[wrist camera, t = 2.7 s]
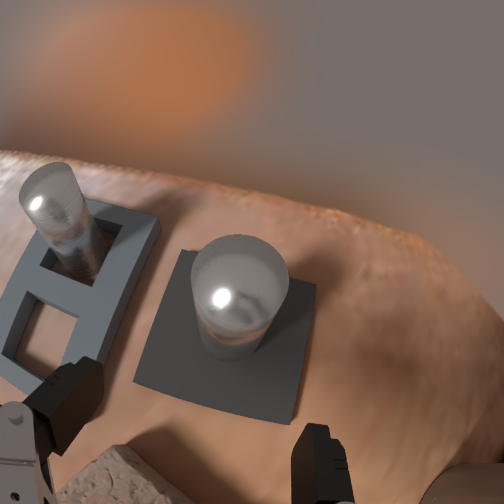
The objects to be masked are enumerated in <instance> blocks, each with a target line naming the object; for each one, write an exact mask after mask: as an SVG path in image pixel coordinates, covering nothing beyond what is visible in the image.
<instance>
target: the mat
mask: <svg viewBox="0 0 504 504" xmlns="http://www.w3.org/2000/svg"><path fill="white" fill-rule="evenodd" d="M197 255H198V253H194V252H191V251H187V250H183V249H182V250H181V253H180V255H179V257H178V260H177V262H176V265H175V267H174V270H173V272H172V275H171V277H170V280H169V282H168V285H167V287H166V290H165V293H164V295H163V298H162V300H161V303H160V306H159V308H158V311H157V314H156V316H155V319H154V322H153V324H152V327H151V330H150V333H149V336H148V338H147V341H146V344H145V347H144V350H143V353H142V356H141V358H140V361H139V364H138V367H137V370H136V373H135V376H134V379H133V382H134V383H137V384H139V385H142V386H145V387H147V388H150V389H153V390H156V391H159V392H161V393H164V394H167V395H170V396H173V397H176V398H179V399H183V400H186V401H189V402H192V403H196V404H199V405H202V406H206V407H210V408H213V409H217V410H221V411H224V412H228V413H232V414H237V415H241V416H245V417H249V418H254V419H259V420H264V421H269V422H274V423H279V424H285V425H290V423H291V419H292V414H293V410H294V405H295V401H296V396H297V391H298V387H299V382H300V377H301V372H302V367H303V362H304V356H305V351H306V345H307V340H308V334H309V328H310V322H311V316H312V310H313V304H314V298H315V291H316V284H312V283H308V282H304V281H300V280H297V279H293V278H289V287H288V291H287V295H286V297H285V299H284V301H283V303H282V305H281V306H280V308H279V310H278V312H277V313H276V315H275V317H274V319H273V320H272V322H271V324H270V326H269V327H268V329H267V331H266V333H265V334H264V336H263V338H262V340H261V341H260V343H259V345H258V346H257V348H256V350H255V351H254V352H253V353H252V354H251V355H250V356H249V357H247V358H246V359H244V360H241V361H238V362H224V361H221V360H218V359H216V358H214V357H213V356H211V355H210V354H209V353H208V352H207V351H206V349H205V348H204V346H203V344H202V341H201V336H200V331H199V326H198V320H197V315H196V309H195V303H194V297H193V291H192V285H191V269H192V265H193V262H194V260H195V258H196V256H197Z"/></svg>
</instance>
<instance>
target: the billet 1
mask: <svg viewBox="0 0 504 504" xmlns="http://www.w3.org/2000/svg"><path fill="white" fill-rule="evenodd" d="M19 202H20V204H21V206H22V208H23V209H24V211H25V212H26V214H27V215H28V217H29V218H30V220H31V221H32V223H33V224H34V226H35V227H36V228H37V230H38V231H39V233H40V234H41V236H42V237H43V238H44V240H45V241H46V242H47V244H48V245H49V247H50V248H51V249H52V251H53V252H54V253H55V255H56V256H57V257H58V258H59V260H60V261H61V262H62V264H63V265H64V266H65V267H66V269H67V270H68V271H69V272H70V274H71V275H73V276H74V277H76V278H81V279H85V278H90V277H92V276H94V275H96V274H97V273H99V271H100V269H101V267H102V265H103V263H104V261H105V259H106V257H107V255H108V247H107V245H106V243H105V241H104V239H103V237H102V235H101V233H100V231H99V229H98V227H97V225H96V223H95V221H94V218H93V216H92V214H91V212H90V210H89V208H88V206H87V203H86V201H85V199H84V197H83V194H82V192H81V190H80V188H79V185H78V183H77V180H76V178H75V176H74V173H73V171H72V168H71V167H70V166H69V165H68V164H66V163H64V162H53V163H49V164H46V165H44V166H42V167H40V168H39V169H37V170H36V171H35V172H33V173H32V174H31V175H30V176H29V177H28V178H27V179H26V181H25V182H24V184H23V185H22V187H21V190H20V193H19Z"/></svg>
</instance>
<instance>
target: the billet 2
mask: <svg viewBox="0 0 504 504" xmlns="http://www.w3.org/2000/svg"><path fill="white" fill-rule="evenodd" d="M191 285H192V291H193V297H194V303H195V309H196V315H197V320H198V326H199V331H200V336H201V341H202V344H203V346H204V348H205V349H206V351H207V352H208V353H209V354H210V355H211V356H213V357H214V358H216V359H218V360H221V361H224V362H238V361H241V360H244V359H246V358H247V357H249V356H250V355H251V354H252V353H253V352H254V351H255V350H256V348H257V346H258V345H259V343H260V341H261V340H262V338H263V336H264V334H265V333H266V331H267V329H268V327H269V326H270V324H271V322H272V320H273V319H274V317H275V315H276V313H277V312H278V310H279V308H280V306H281V305H282V303H283V301H284V299H285V297H286V295H287V291H288V287H289V274H288V269H287V266H286V264H285V262H284V260H283V258H282V257H281V255H280V254H279V253H278V251H277V250H276V249H275V248H273V247H272V246H271V245H270V244H268V243H267V242H265V241H263V240H261V239H259V238H256V237H253V236H249V235H241V234H234V235H227V236H223V237H220V238H217V239H215V240H213V241H212V242H210V243H209V244H207V245H206V246H205V247H204V248H203V249H202V250H201V251H200V252H199V253H198V255H197V256H196V258H195V260H194V262H193V265H192V269H191Z"/></svg>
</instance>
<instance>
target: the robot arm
mask: <svg viewBox="0 0 504 504" xmlns="http://www.w3.org/2000/svg"><path fill="white" fill-rule="evenodd" d="M103 395H104V380H103V365H102V363H100V362H98V361H96V360H94V359H91V358H89V357H87V356H83V357H82V358H81V359H80V360H79V361H78V362H77V363H76V364H73V363H71V362H70V363H67V364H65V365H62V366H60V367H58V368H57V369H56V370H55V371H54V372H53V373H52V375H50V376H49V377H48V378H47V379H46V381H44V382H43V383H42V384H40V385H39V386H38V387H37V388H36V389H35V390H34V391H33V392H32V393H31V394H30V395H29V396H28V397H27V398H26V399H25V400H24V401H23V402H21V403H20V402H16V401H12V402H7V403H5V404H4V405H0V504H58V501H57V498H56V494H55V490H54V485H53V480H52V475H51V469H50V463H49V458H48V457H49V455H50V454H51V453H52V451H53V452H54V453H56V454H58V455H59V456H61V457H62V455H63V454H64V452H65V451H66V450H67V448H68V447H69V446H70V444H71V443H72V441H73V440H74V439H75V437H76V436H77V435H78V433H79V432H80V430H81V429H82V428H83V426H84V425H85V424H86V422H87V421H88V420H89V418H90V417H91V415H92V414H93V413H94V411H95V410H96V409H97V407H98V406H99V405H100V403H101V401H102V399H103ZM346 460H347V458H346V453H345V449H344V447H343V446H342V445H341V443H340V442H339V440H338V439H331V437H330V431H329V427H328V425H322V424H314V423H308V424H307V425H306V426H305V428H304V430H303V432H302V434H301V435H300V437H299V439H298V441H297V442H296V444H295V446H294V448H293V451H292V456H291V504H356V503H355V500H354V495H353V490H352V484H351V479H350V474H349V470H348V463H347V462H346ZM420 504H504V463H495V464H461V465H456V466H454V467H452V468H450V469H448V470H447V471H445V472H444V473H443V474H442V475H440V476H439V477H438V478H437V479H436V480H435V481H434V483H433V484H432V485H431V486H430V488H429V489H428V490H427V492H426V493H425V495H424V497H423V499H422V501H421V502H420Z"/></svg>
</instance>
